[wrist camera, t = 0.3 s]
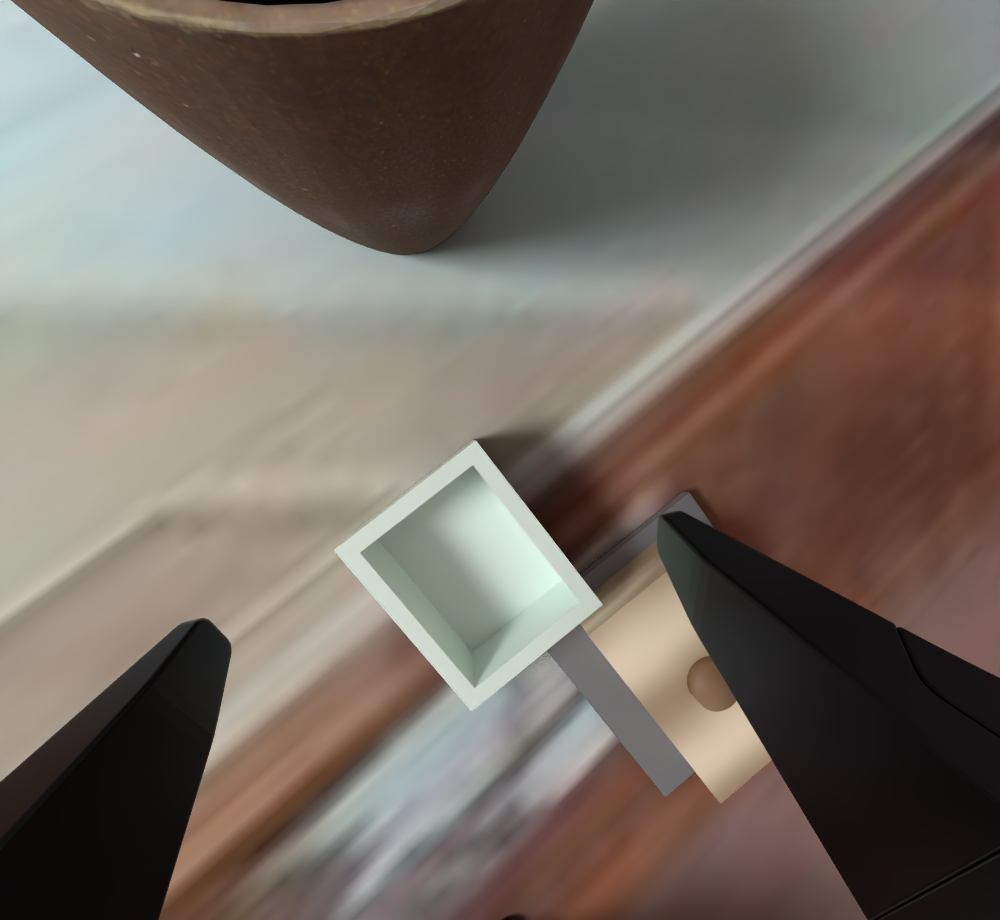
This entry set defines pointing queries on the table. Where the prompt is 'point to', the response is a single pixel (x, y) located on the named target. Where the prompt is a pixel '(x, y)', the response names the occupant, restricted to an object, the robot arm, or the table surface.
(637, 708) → the mat
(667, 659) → the lid
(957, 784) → the robot arm
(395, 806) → the table surface
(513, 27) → the plant pot
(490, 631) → the dish
